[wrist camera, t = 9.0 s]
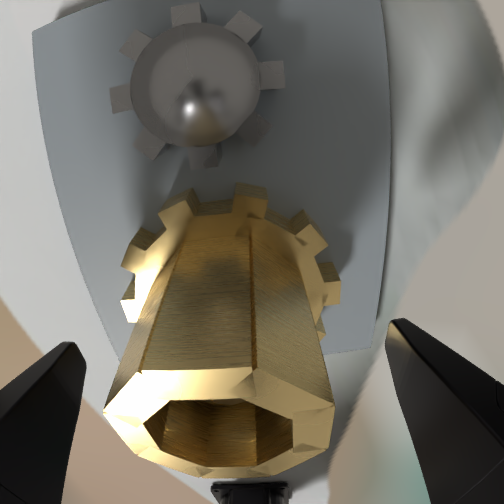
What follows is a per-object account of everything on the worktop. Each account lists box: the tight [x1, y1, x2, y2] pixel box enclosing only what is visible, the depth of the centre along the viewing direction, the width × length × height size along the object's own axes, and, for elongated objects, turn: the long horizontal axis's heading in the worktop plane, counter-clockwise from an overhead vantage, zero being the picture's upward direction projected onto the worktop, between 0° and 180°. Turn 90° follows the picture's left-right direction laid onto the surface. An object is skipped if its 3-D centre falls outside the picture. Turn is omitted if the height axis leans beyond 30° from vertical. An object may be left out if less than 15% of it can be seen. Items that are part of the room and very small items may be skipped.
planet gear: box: [103, 182, 341, 478], centre depth 9 cm, size 7×7×6 cm
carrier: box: [32, 0, 391, 405], centre depth 8 cm, size 14×11×6 cm
